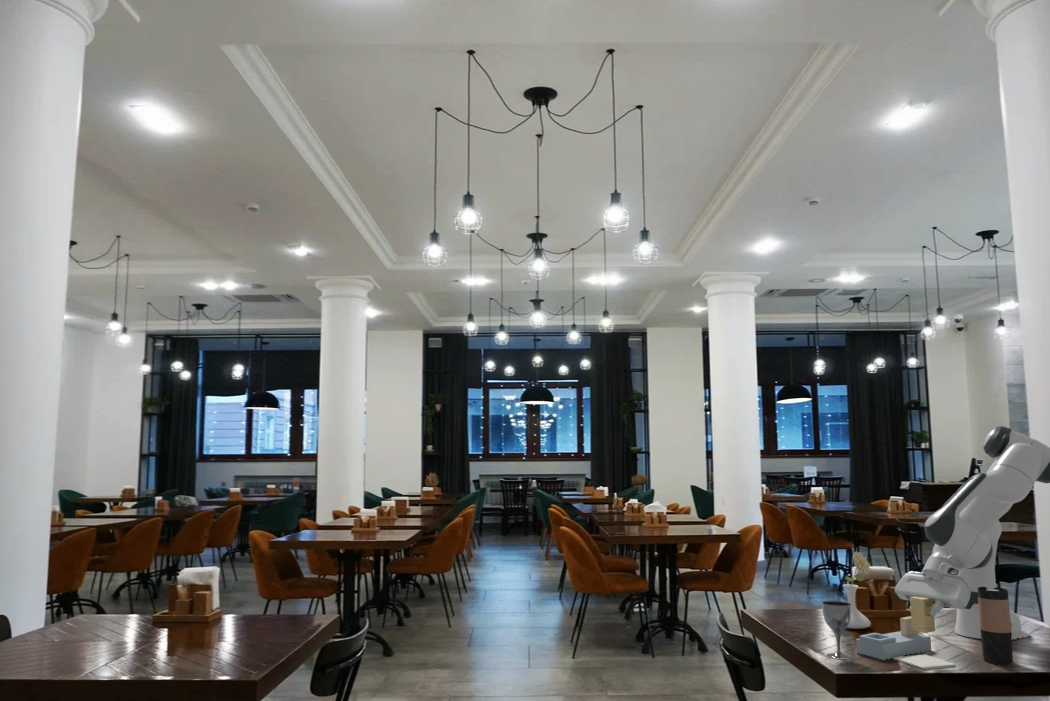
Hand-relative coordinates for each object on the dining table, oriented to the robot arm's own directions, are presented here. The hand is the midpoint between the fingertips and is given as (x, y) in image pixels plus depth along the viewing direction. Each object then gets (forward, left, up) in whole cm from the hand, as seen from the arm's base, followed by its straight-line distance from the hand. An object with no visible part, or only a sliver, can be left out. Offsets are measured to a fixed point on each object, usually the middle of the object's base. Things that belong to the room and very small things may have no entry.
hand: (921, 613), depth 220 cm
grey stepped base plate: (-1, -13, -14) cm, 19 cm away
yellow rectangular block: (-1, 0, -5) cm, 5 cm away
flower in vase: (-12, -44, -14) cm, 47 cm away
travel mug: (-21, +4, -14) cm, 26 cm away
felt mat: (0, -1, -14) cm, 14 cm away
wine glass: (+18, -14, -14) cm, 26 cm away
